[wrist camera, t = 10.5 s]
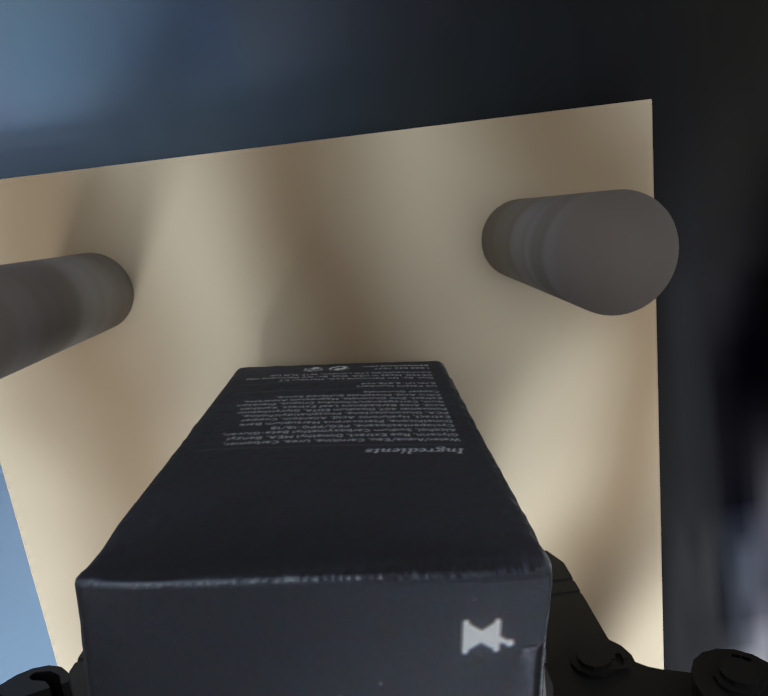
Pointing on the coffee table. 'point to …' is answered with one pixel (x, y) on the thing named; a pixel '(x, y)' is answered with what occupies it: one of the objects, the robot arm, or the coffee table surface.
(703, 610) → the coffee table surface
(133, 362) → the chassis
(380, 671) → the box
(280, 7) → the coffee table surface
